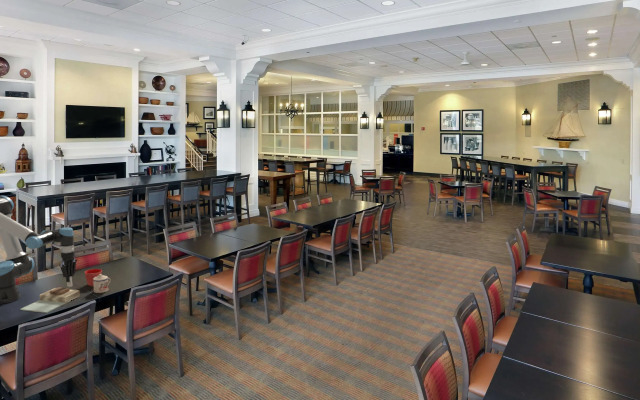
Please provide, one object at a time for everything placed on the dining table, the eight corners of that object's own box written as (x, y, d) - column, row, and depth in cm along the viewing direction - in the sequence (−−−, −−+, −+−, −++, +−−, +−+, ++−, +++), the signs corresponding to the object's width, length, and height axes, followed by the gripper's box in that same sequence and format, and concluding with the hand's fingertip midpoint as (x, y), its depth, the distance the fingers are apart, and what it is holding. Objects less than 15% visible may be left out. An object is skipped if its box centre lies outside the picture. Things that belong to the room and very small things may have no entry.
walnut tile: (49, 294, 257) (49, 291, 257) (58, 290, 264) (58, 287, 264) (61, 295, 256) (60, 292, 256) (69, 291, 263) (69, 288, 263)
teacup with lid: (100, 294, 270) (99, 277, 268) (90, 292, 273) (89, 275, 271) (115, 288, 281) (114, 272, 279) (105, 286, 284) (104, 270, 282)
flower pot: (100, 280, 294) (99, 267, 293) (104, 285, 286) (103, 271, 284) (84, 283, 287) (83, 270, 286) (87, 288, 279) (86, 274, 278)
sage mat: (20, 309, 243) (20, 309, 243) (40, 300, 256) (39, 299, 256) (47, 313, 240) (46, 312, 240) (65, 303, 253) (65, 302, 253)
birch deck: (40, 300, 256) (39, 294, 256) (55, 293, 268) (54, 287, 267) (65, 303, 253) (65, 297, 253) (79, 296, 265) (79, 290, 265)
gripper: (65, 254, 258) (67, 290, 261) (80, 249, 270) (82, 283, 274) (54, 253, 259) (56, 289, 263) (70, 248, 272) (72, 282, 275)
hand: (69, 286), depth 268 cm, fingers closed
